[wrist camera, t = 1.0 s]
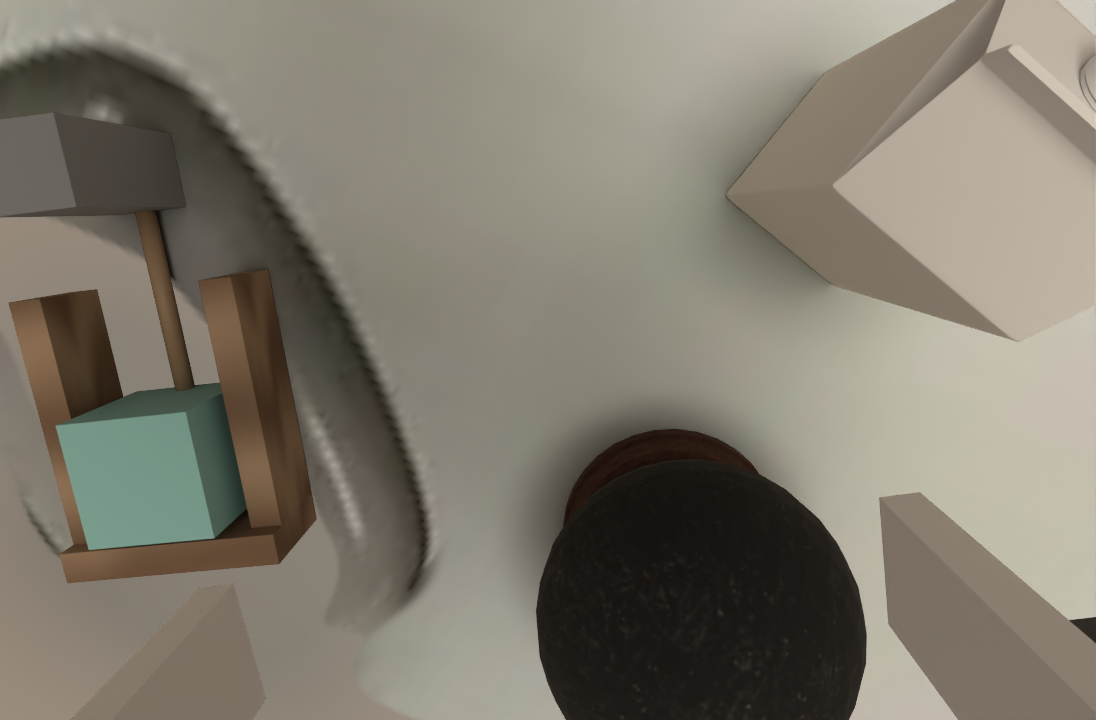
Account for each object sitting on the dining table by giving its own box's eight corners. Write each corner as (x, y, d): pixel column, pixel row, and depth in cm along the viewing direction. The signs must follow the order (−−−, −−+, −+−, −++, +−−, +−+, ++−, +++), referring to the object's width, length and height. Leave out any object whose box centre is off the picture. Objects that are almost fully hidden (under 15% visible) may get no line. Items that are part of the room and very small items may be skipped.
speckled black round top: (658, 685, 40) (704, 960, 25) (494, 522, 39) (442, 715, 24) (846, 537, 38) (1016, 746, 23) (680, 358, 36) (751, 460, 22)
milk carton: (833, 287, 35) (1120, 375, 17) (723, 195, 35) (893, 181, 16) (937, 168, 34) (1376, 121, 15) (824, 70, 33) (1139, -103, 15)
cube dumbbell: (77, 145, 35) (-66, 128, 27) (195, 130, 35) (84, 108, 27) (162, 498, 39) (58, 571, 31) (269, 487, 39) (191, 559, 31)
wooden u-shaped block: (68, 292, 37) (-10, 305, 32) (268, 269, 36) (219, 278, 31) (130, 536, 39) (67, 583, 35) (316, 519, 39) (279, 563, 34)
